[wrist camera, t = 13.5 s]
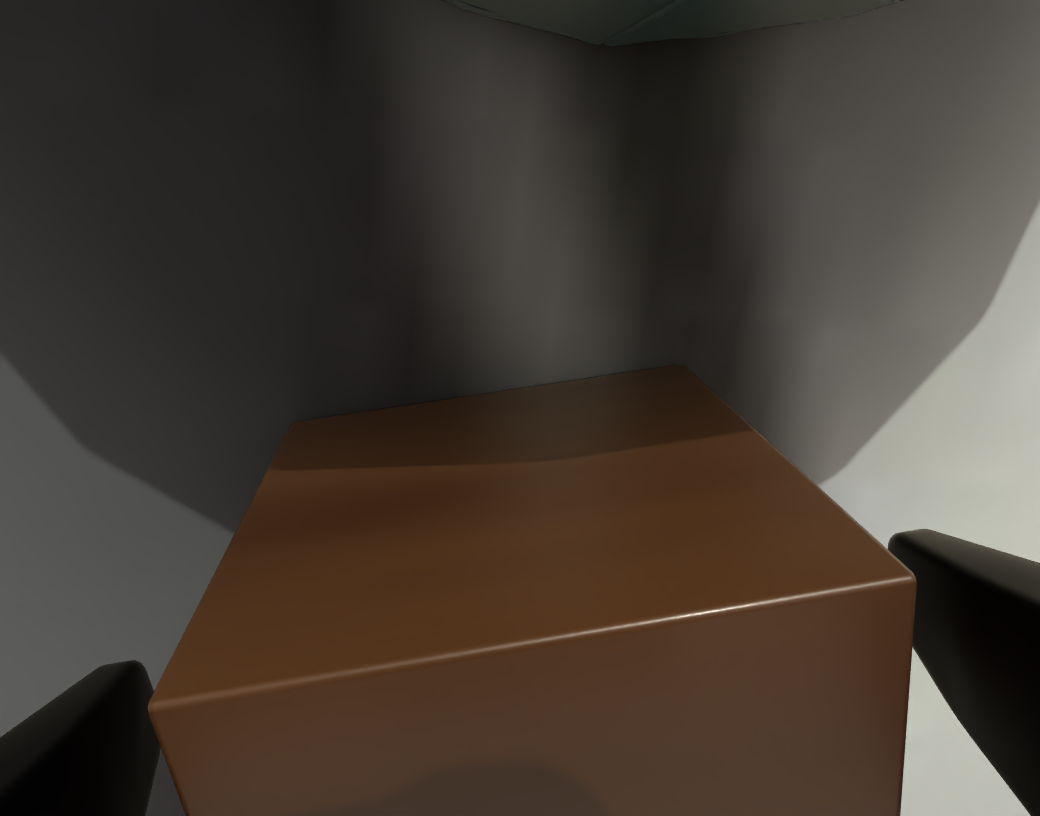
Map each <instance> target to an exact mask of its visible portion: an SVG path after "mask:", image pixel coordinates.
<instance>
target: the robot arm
mask: <svg viewBox="0 0 1040 816" xmlns="http://www.w3.org/2000/svg"><path fill="white" fill-rule="evenodd" d="M888 550H889V551H890V552H891V553H892V554H893V555H894V556H895V557H896V558H897V559H898V560H900V561H901V562H902V563H903V564H904V565H905V566H906V567H907V568H908V569H909V570H911V571H912V572H913V573H914V576H915V578H916V581H917V587H916V601H915V615H914V629H913V643H912V647H913V648H914V650H915V652H916V653H917V655H918V656H919V658H920V660H921V661H922V663H923V665H924V666H925V668H926V669H927V671H928V673H929V674H930V676H931V678H932V679H933V681H934V682H935V684H936V686H937V687H938V689H939V691H940V692H941V694H942V695H943V697H944V699H945V700H946V702H947V703H948V705H949V706H950V708H951V709H952V711H953V712H954V714H955V716H956V717H957V719H958V720H959V721H960V723H961V724H962V725H963V727H964V728H965V729H966V731H967V732H968V734H969V735H970V736H971V738H972V739H973V740H974V742H975V743H976V744H977V746H978V747H979V748H980V750H981V751H982V752H983V753H984V755H985V756H986V757H987V759H988V760H989V761H990V763H991V764H992V765H993V767H994V768H995V769H996V770H997V772H998V773H999V774H1000V776H1001V777H1002V778H1003V780H1004V781H1005V782H1006V784H1007V785H1008V786H1009V788H1010V789H1011V790H1012V791H1013V793H1014V794H1015V795H1016V797H1017V798H1018V799H1019V801H1020V802H1021V803H1022V805H1023V806H1024V807H1025V809H1026V810H1027V811H1028V812H1029V814H1030V815H1031V816H1040V563H1038V562H1034V561H1031V560H1028V559H1025V558H1021V557H1018V556H1015V555H1011V554H1008V553H1005V552H1001V551H998V550H995V549H992V548H988V547H985V546H982V545H978V544H975V543H972V542H969V541H965V540H962V539H959V538H955V537H952V536H949V535H946V534H942V533H939V532H936V531H932V530H929V529H919V530H913V531H907V532H901V533H896V534H894V535H893V536H892V537H891V538H890V540H889V543H888ZM153 693H154V690H153V688H152V685H151V682H150V679H149V676H148V674H147V671H146V669H145V667H144V666H143V665H142V663H140V662H138V661H136V660H132V661H125V662H119V663H113V664H107V665H103V666H100V667H99V668H97V669H96V670H94V671H93V672H91V673H90V674H89V675H87V676H86V677H84V678H83V679H82V680H80V681H79V682H77V683H76V684H75V685H73V686H72V687H70V688H69V689H68V690H66V691H65V692H63V693H62V694H61V695H59V696H58V697H56V698H55V699H54V700H52V701H51V702H49V703H48V704H47V705H45V706H44V707H42V708H41V709H40V710H38V711H37V712H35V713H34V714H33V715H31V716H30V717H28V718H27V719H26V720H24V721H23V722H21V723H20V724H19V725H17V726H16V727H14V728H13V729H12V730H10V731H9V732H7V733H6V734H5V735H3V736H2V737H0V816H145V814H146V810H147V806H148V801H149V797H150V793H151V788H152V784H153V780H154V775H155V771H156V767H157V762H158V758H159V753H160V749H161V746H160V743H159V740H158V738H157V735H156V732H155V730H154V727H153V724H152V721H151V719H150V716H149V713H148V704H149V701H150V699H151V697H152V695H153Z"/></svg>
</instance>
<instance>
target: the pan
mask: <svg viewBox="0 0 1040 816" xmlns="http://www.w3.org/2000/svg"><path fill="white" fill-rule="evenodd" d="M443 1H446V2H448V3H451V4H453V5H455V6H458V7H460V8H463V9H465V10H468V11H470V12H473V13H476V14H480V15H484V16H488V17H492V18H496V19H500V20H504V21H508V22H512V23H516V24H520V25H524V26H528V27H533V28H537V29H541V30H545V31H549V32H553V33H559V34H563V35H566V36H569V37H572V38H575V39H578V40H581V41H584V42H587V43H590V44H593V45H597V44H602V43H604V45H607V46H618V45H627V44H635V43H643V42H651V41H659V40H667V39H685V38H705V37H717V36H722V35H727V34H732V33H737V32H742V31H747V30H752V29H757V28H763V27H771V26H779V25H787V24H795V23H803V22H811V21H819V20H828V19H836V18H844V17H848V16H852V15H855V14H858V13H862V12H865V11H869V10H872V9H875V8H879V7H882V6H885V5H889V4H892V3H895V2H899V1H902V0H443Z"/></svg>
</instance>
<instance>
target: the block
mask: <svg viewBox="0 0 1040 816" xmlns="http://www.w3.org/2000/svg"><path fill="white" fill-rule="evenodd" d="M916 587H917V581H916V578H915V576H914V573H913V572H912V571H911V570H909V569H908V568H907V567H906V566H905V565H904V564H903V563H902V562H901V561H900V560H898V559H897V558H896V557H895V556H894V555H893V554H892V553H891V552H890V551H889V550H887V549H886V548H885V547H884V546H883V545H882V544H881V543H880V542H879V541H878V540H876V539H875V538H874V537H873V536H872V535H871V534H870V533H869V532H868V531H866V530H865V529H864V528H863V527H862V526H861V525H860V524H859V523H858V522H857V521H855V520H854V519H853V518H852V517H851V516H850V515H849V514H848V513H847V512H846V511H844V510H843V509H842V508H841V507H840V506H839V505H838V504H837V503H836V502H835V501H833V500H832V499H831V498H830V497H829V496H828V495H827V494H826V493H825V492H824V491H822V490H821V489H820V488H819V487H818V486H817V485H816V484H815V483H814V482H813V481H811V480H810V479H809V478H808V477H807V476H806V475H805V474H804V473H803V472H802V471H800V470H799V469H798V468H797V467H796V466H795V465H794V464H793V463H792V462H790V461H789V460H788V459H787V458H786V457H785V456H784V455H783V454H782V453H781V452H779V451H778V450H777V449H776V448H775V447H774V446H773V445H772V444H771V443H770V442H768V441H767V440H766V439H765V438H764V437H763V436H762V435H761V434H760V433H759V432H757V431H756V430H755V429H754V428H753V427H752V426H751V425H750V424H749V423H748V422H746V421H745V420H744V419H743V418H742V417H741V416H740V415H739V414H738V413H737V412H735V411H734V410H733V409H732V408H731V407H730V406H729V405H728V404H727V403H725V402H724V401H723V400H722V399H721V398H720V397H719V396H718V395H717V394H716V393H714V392H713V391H712V390H711V389H710V388H709V387H708V386H707V385H706V384H705V383H703V382H702V381H701V380H700V379H699V378H698V377H697V376H696V375H695V374H694V373H692V372H691V371H690V370H689V369H688V368H687V367H686V366H685V365H681V364H680V365H674V366H667V367H660V368H654V369H647V370H640V371H634V372H627V373H620V374H614V375H607V376H600V377H594V378H587V379H580V380H574V381H567V382H560V383H554V384H547V385H540V386H534V387H527V388H520V389H514V390H507V391H500V392H494V393H487V394H480V395H473V396H467V397H460V398H453V399H447V400H440V401H433V402H427V403H420V404H413V405H407V406H400V407H393V408H387V409H380V410H373V411H367V412H360V413H353V414H347V415H340V416H333V417H327V418H320V419H313V420H307V421H300V422H294V423H292V424H290V426H289V428H288V430H287V432H286V434H285V436H284V438H283V440H282V442H281V444H280V446H279V448H278V450H277V452H276V454H275V456H274V458H273V460H272V462H271V464H270V466H269V468H268V470H267V471H266V473H265V475H264V477H263V479H262V481H261V483H260V485H259V487H258V489H257V491H256V493H255V495H254V497H253V499H252V501H251V503H250V505H249V507H248V509H247V511H246V513H245V515H244V517H243V519H242V520H241V522H240V524H239V526H238V528H237V530H236V532H235V534H234V536H233V538H232V540H231V542H230V544H229V546H228V548H227V550H226V552H225V554H224V556H223V558H222V560H221V562H220V564H219V566H218V568H217V569H216V571H215V573H214V575H213V577H212V579H211V581H210V583H209V585H208V587H207V589H206V591H205V593H204V595H203V597H202V599H201V601H200V603H199V605H198V607H197V609H196V611H195V613H194V615H193V617H192V619H191V620H190V622H189V624H188V626H187V628H186V630H185V632H184V634H183V636H182V638H181V640H180V642H179V644H178V646H177V648H176V650H175V652H174V654H173V656H172V658H171V660H170V662H169V664H168V666H167V668H166V669H165V671H164V673H163V675H162V677H161V679H160V681H159V683H158V685H157V687H156V689H155V691H154V693H153V695H152V697H151V699H150V701H149V704H148V713H149V716H150V719H151V721H152V724H153V727H154V730H155V732H156V735H157V738H158V740H159V743H160V746H161V749H162V751H163V754H164V757H165V759H166V762H167V765H168V768H169V770H170V773H171V776H172V778H173V781H174V784H175V787H176V789H177V792H178V795H179V797H180V800H181V803H182V806H183V808H184V811H185V814H186V816H900V810H901V796H902V782H903V768H904V754H905V740H906V726H907V712H908V699H909V685H910V671H911V657H912V643H913V629H914V615H915V601H916Z"/></svg>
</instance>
